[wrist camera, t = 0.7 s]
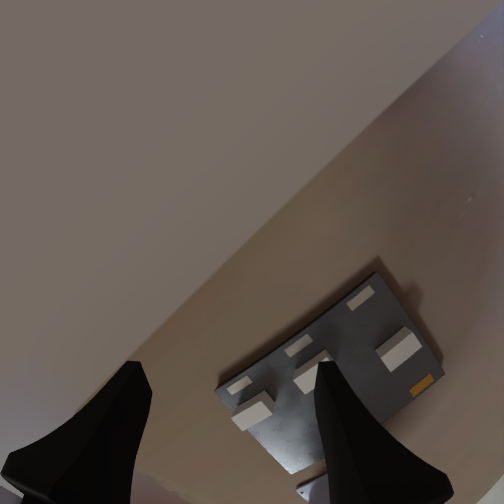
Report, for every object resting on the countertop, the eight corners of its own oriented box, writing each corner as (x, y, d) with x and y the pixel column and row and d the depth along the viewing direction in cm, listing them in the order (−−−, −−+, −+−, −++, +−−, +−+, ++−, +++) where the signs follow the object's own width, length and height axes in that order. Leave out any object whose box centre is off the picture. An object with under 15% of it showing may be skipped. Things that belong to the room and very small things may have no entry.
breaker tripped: (413, 339, 28) (422, 346, 26) (384, 363, 29) (390, 372, 26) (404, 326, 29) (412, 331, 26) (374, 350, 29) (380, 358, 26)
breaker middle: (336, 363, 30) (338, 372, 27) (305, 384, 30) (305, 394, 28) (325, 349, 30) (326, 357, 27) (294, 370, 30) (293, 380, 28)
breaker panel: (440, 369, 29) (445, 373, 27) (292, 467, 32) (291, 474, 30) (374, 271, 31) (377, 271, 29) (217, 386, 34) (213, 391, 32)
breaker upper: (275, 403, 31) (272, 414, 28) (247, 419, 31) (242, 431, 29) (264, 390, 31) (260, 400, 28) (236, 407, 31) (230, 418, 29)
